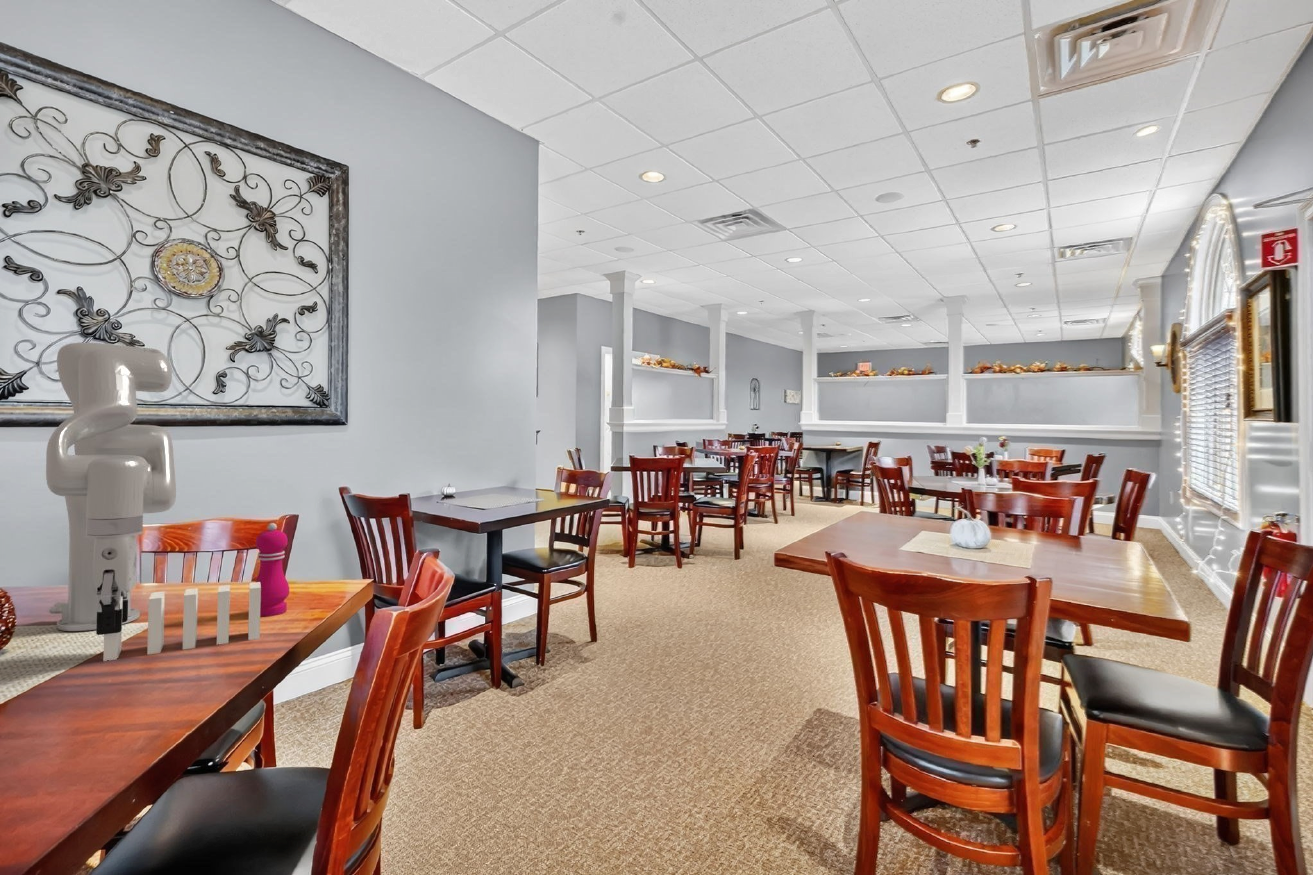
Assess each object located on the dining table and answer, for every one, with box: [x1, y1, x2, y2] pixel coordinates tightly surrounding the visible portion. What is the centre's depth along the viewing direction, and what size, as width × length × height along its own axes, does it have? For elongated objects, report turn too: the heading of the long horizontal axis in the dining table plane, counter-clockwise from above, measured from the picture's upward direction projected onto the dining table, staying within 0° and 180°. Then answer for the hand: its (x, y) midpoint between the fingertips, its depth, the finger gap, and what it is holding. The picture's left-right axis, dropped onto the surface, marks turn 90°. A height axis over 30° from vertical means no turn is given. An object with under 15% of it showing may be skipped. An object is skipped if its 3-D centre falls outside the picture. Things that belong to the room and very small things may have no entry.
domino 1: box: [146, 591, 166, 656], centre depth 110 cm, size 2×5×10 cm, turn 35°
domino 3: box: [216, 584, 231, 646], centre depth 116 cm, size 2×5×10 cm, turn 35°
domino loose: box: [102, 596, 123, 662], centre depth 107 cm, size 2×5×10 cm, turn 36°
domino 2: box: [182, 587, 199, 651], centre depth 113 cm, size 2×5×10 cm, turn 35°
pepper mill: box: [254, 522, 290, 617], centre depth 134 cm, size 7×7×20 cm
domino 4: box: [247, 582, 261, 641], centre depth 119 cm, size 2×5×10 cm, turn 35°
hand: (112, 626), depth 107 cm, fingers open, 6 cm apart
